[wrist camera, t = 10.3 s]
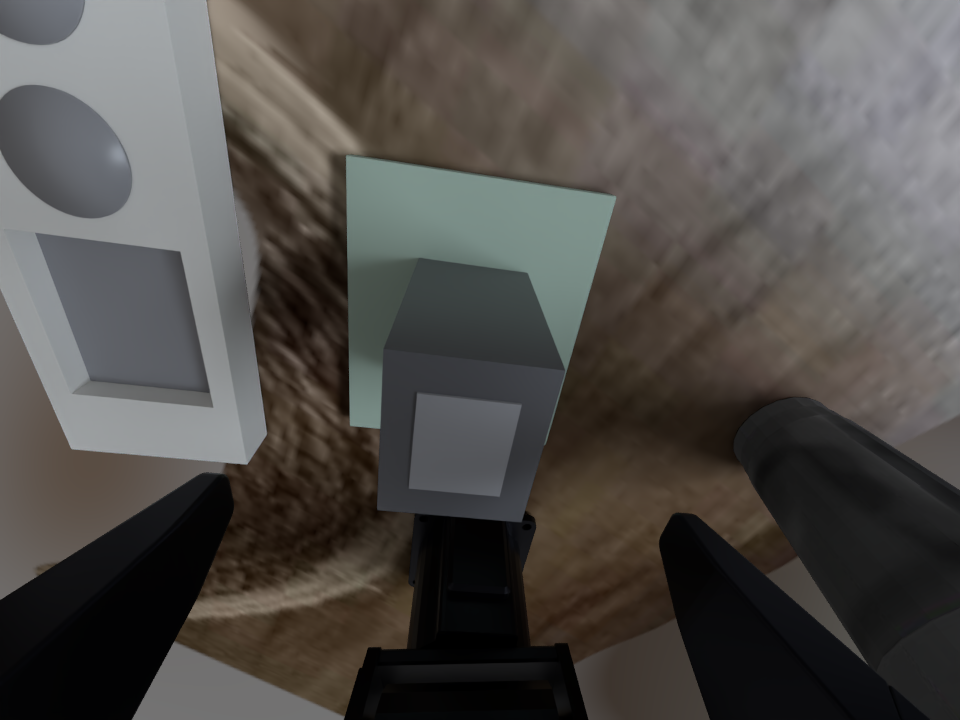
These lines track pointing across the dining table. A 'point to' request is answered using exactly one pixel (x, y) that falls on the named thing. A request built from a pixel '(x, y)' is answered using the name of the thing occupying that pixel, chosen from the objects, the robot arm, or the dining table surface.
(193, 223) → the power strip
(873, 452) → the beverage cup
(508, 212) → the mat
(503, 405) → the block
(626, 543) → the dining table surface
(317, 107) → the dining table surface
